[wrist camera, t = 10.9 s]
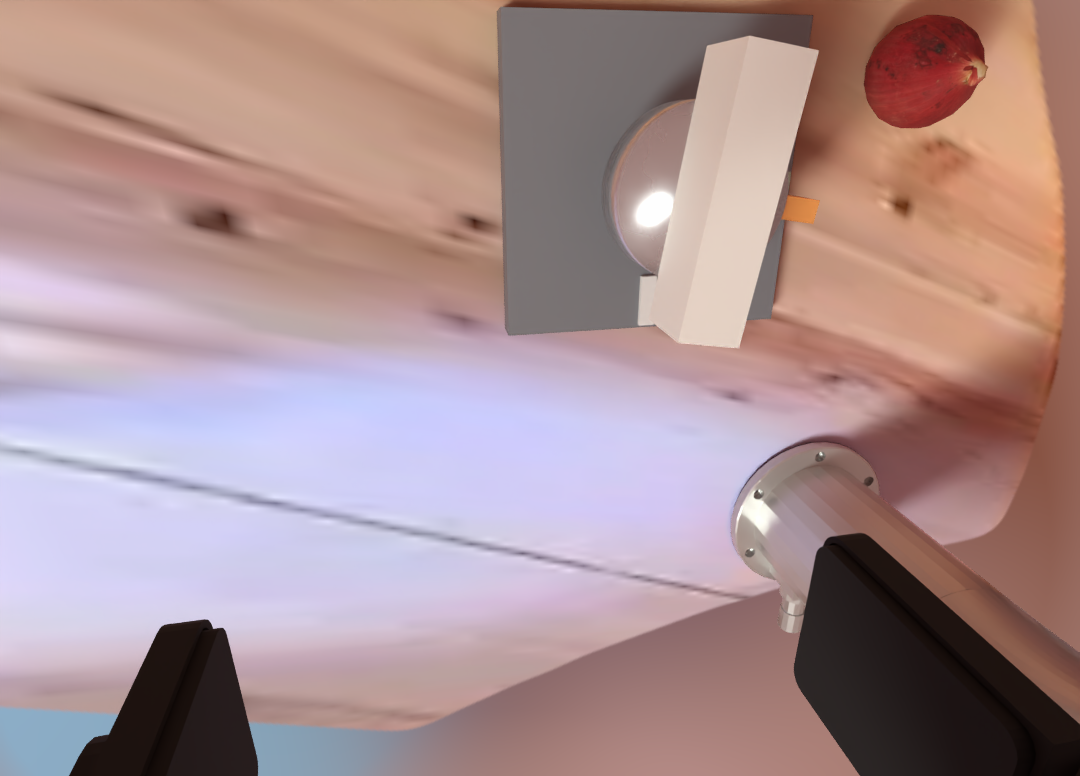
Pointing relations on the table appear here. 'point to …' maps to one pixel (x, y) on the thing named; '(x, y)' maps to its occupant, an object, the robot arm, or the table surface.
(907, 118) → the onion
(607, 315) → the base
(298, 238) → the table surface
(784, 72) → the cap
